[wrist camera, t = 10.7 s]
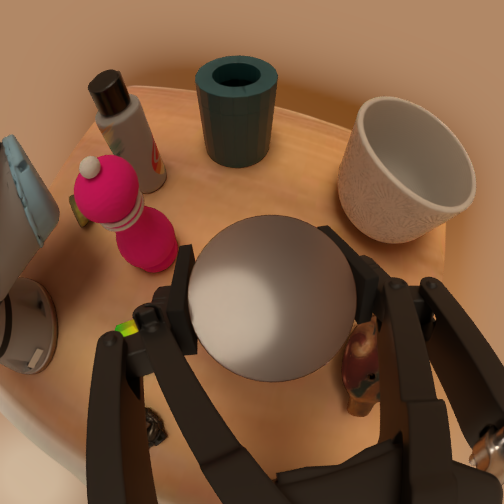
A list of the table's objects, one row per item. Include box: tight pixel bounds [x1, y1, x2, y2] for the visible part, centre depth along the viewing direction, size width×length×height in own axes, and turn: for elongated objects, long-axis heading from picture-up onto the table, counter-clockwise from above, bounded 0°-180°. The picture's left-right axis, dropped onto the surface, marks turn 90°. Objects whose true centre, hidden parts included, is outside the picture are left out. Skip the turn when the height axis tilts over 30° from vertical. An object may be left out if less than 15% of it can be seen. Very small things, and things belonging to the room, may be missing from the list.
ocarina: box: [342, 316, 380, 417], centre depth 28 cm, size 10×15×8 cm, turn 165°
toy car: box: [145, 408, 167, 448], centre depth 25 cm, size 6×12×4 cm, turn 137°
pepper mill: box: [74, 155, 178, 272], centre depth 26 cm, size 7×7×20 cm
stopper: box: [187, 215, 357, 382], centre depth 16 cm, size 8×8×8 cm
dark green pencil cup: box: [195, 56, 278, 168], centre depth 35 cm, size 10×10×14 cm
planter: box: [338, 96, 476, 244], centre depth 32 cm, size 17×17×15 cm
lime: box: [69, 195, 89, 227], centre depth 35 cm, size 4×5×5 cm
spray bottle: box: [88, 70, 166, 193], centre depth 30 cm, size 6×6×20 cm
